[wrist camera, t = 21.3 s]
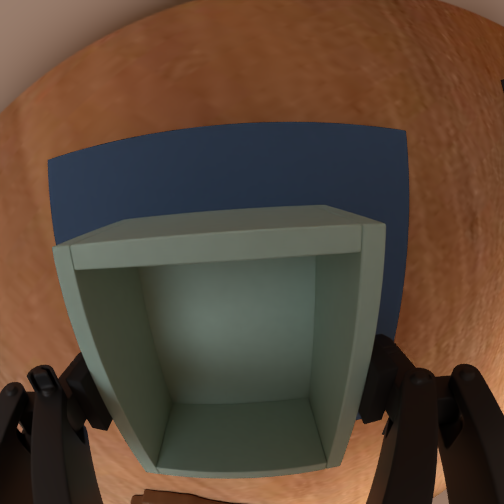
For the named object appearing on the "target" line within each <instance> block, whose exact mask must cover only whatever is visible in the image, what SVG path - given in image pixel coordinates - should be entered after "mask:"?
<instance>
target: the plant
mask: <svg viewBox="0 0 504 504" xmlns="http://www.w3.org/2000/svg"><path fill="white" fill-rule="evenodd" d="M131 504H230V503H223V502H217V501H212V500H207V499H203V498H199V497H196V496H193V495H189V494H178V493H172V492H161V491H152V490H145V491H144V495H142V496H133V497H132V500H131Z"/></svg>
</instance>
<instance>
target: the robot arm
mask: <svg viewBox="0 0 504 504" xmlns="http://www.w3.org/2000/svg"><path fill="white" fill-rule="evenodd" d="M27 378H28V380H29V381H30V383H31V385H32V387H33V389H34V391H35V392H26V390H25V389H24V387H23V385H22V384H21V383H19V382H12V383H9V384H7V385H6V386H5V387H4V388H3V390H2V391H1V393H0V504H103V501H102V498H101V495H100V491H99V487H98V483H97V479H96V475H95V471H94V466H93V462H92V457H91V451H90V446H89V440H88V433H87V430H86V427H85V426H84V423H85V421H86V419H87V420H88V421H89V423H90V425H91V426H92V428H96V429H100V430H105V431H107V430H108V428H109V426H110V424H111V421H112V419H113V418H112V417H111V415H110V413H109V411H108V409H107V407H106V405H105V403H104V401H103V399H102V397H101V395H100V393H99V391H98V389H97V387H96V385H95V383H94V380H93V378H92V376H91V374H90V371H89V369H88V367H87V365H86V362H85V360H84V357H83V355H82V352H80V353H79V354H78V355H77V356H76V357H75V359H74V360H73V361H72V362H71V363H70V365H69V366H68V367H67V368H66V370H65V371H64V372H63V373H62V375H61V376H60V377H59V379H58V378H57V376H56V374H55V372H54V370H53V368H52V367H51V366H49V365H40V366H37V367H35V368H33V369H32V370H31V371H30V372H29V373H28V375H27ZM385 410H386V412H387V414H388V416H389V418H388V421H387V423H386V426H385V428H384V430H383V433H382V434H383V435H384V439H383V444H382V448H381V453H380V457H379V461H378V465H377V469H376V472H375V476H374V480H373V483H372V486H371V490H370V493H369V496H368V499H367V502H366V504H432V499H433V493H434V485H435V476H436V465H437V449H438V448H439V453H440V457H441V461H442V466H443V471H444V476H445V482H446V487H447V493H448V500H449V504H504V415H503V413H502V411H501V409H500V407H499V405H498V403H497V401H496V400H495V398H494V396H493V394H492V392H491V390H490V389H489V387H488V385H487V383H486V382H485V380H484V378H483V376H482V375H481V373H480V371H479V370H478V369H477V368H476V367H474V366H472V365H469V364H460V365H457V366H456V367H455V368H454V369H453V372H452V374H451V376H440V377H435V376H434V374H433V373H432V372H431V371H429V370H427V369H424V368H416V367H415V366H414V365H413V364H412V363H411V361H410V360H409V359H408V358H407V357H406V356H405V354H404V353H403V352H402V351H401V350H400V349H399V347H398V346H396V344H395V343H394V342H393V340H392V339H391V338H389V337H387V336H385V335H384V334H378V335H375V339H374V345H373V350H372V355H371V360H370V365H369V369H368V374H367V378H366V383H365V387H364V391H363V395H362V399H361V402H360V406H359V410H358V412H359V414H360V416H361V418H362V421H363V423H364V424H367V423H371V422H374V421H378V420H381V419H382V417H383V414H384V411H385ZM18 423H19V424H20V425H21V427H22V428H23V431H22V433H21V432H20V431H19V430H18V429H17V426H18Z"/></svg>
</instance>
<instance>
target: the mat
mask: <svg viewBox="0 0 504 504" xmlns="http://www.w3.org/2000/svg"><path fill="white" fill-rule="evenodd" d="M48 180H49V194H50V205H51V214H52V222H53V229H54V236H55V242H56V245H58V244H61V243H63V242H66V241H68V240H71V239H73V238H76V237H78V236H81V235H83V234H86V233H89V232H91V231H94V230H96V229H99V228H102V227H105V226H107V225H110V224H113V223H116V222H119V221H122V220H124V219H133V218H142V217H151V216H161V215H171V214H182V213H193V212H205V211H217V210H231V209H246V208H263V207H282V206H306V205H327V206H330V207H334V208H337V209H341V210H344V211H347V212H351V213H354V214H357V215H360V216H363V217H367V218H370V219H373V220H376V221H379V222H382V223H385V224H386V240H385V257H384V270H383V281H382V290H381V299H380V307H379V314H378V321H377V327H376V333H375V335H378V334H384V335H385V336H387V337H389V338H391V339H392V340H393V342H394V338H395V333H396V328H397V323H398V318H399V312H400V306H401V299H402V293H403V285H404V277H405V268H406V257H407V245H408V227H409V168H408V150H407V138H406V131H405V130H398V129H391V128H383V127H374V126H364V125H353V124H339V123H319V122H260V123H240V124H225V125H214V126H204V127H195V128H187V129H179V130H172V131H166V132H160V133H154V134H148V135H142V136H137V137H132V138H127V139H123V140H118V141H114V142H109V143H105V144H101V145H97V146H93V147H89V148H86V149H82V150H78V151H75V152H71V153H68V154H65V155H62V156H58V157H55V158H52V159H49V160H48ZM358 419H362V418H361V416H360V414H359V412H358V413H357V417H356V420H358Z"/></svg>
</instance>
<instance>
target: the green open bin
mask: <svg viewBox="0 0 504 504" xmlns="http://www.w3.org/2000/svg"><path fill="white" fill-rule="evenodd" d="M385 240H386V224H385V223H382V222H379V221H376V220H373V219H370V218H367V217H363V216H360V215H357V214H354V213H351V212H347V211H344V210H341V209H337V208H334V207H330V206H327V205H306V206H282V207H263V208H246V209H231V210H217V211H205V212H193V213H182V214H171V215H161V216H151V217H142V218H133V219H124V220H122V221H119V222H116V223H113V224H110V225H107V226H105V227H102V228H99V229H96V230H94V231H91V232H89V233H86V234H83V235H81V236H78V237H76V238H73V239H71V240H68V241H66V242H63V243H61V244H58V245H56V246H54V247H52V250H53V255H54V260H55V265H56V270H57V274H58V278H59V282H60V286H61V290H62V294H63V298H64V301H65V305H66V308H67V312H68V315H69V318H70V321H71V324H72V327H73V330H74V333H75V336H76V339H77V342H78V344H79V347H80V350H81V352H82V355H83V357H84V360H85V362H86V365H87V367H88V369H89V371H90V374H91V376H92V378H93V380H94V383H95V385H96V387H97V389H98V391H99V393H100V395H101V397H102V399H103V401H104V403H105V405H106V407H107V409H108V411H109V413H110V415H111V417H112V418H113V420H114V422H115V424H116V426H117V427H118V429H119V431H120V433H121V434H122V436H123V438H124V439H125V441H126V442H127V444H128V446H129V447H130V449H131V450H132V452H133V453H134V455H135V456H136V458H137V459H138V461H139V462H140V464H141V465H142V467H143V468H144V469H145V471H146V472H150V473H156V474H165V475H173V476H183V477H196V478H227V479H229V478H260V477H273V476H283V475H291V474H299V473H305V472H312V471H317V470H323V469H325V468H332V467H337V466H340V464H341V462H342V459H343V456H344V454H345V451H346V448H347V445H348V442H349V439H350V436H351V433H352V430H353V427H354V423H355V420H356V417H357V413H358V410H359V406H360V402H361V399H362V395H363V391H364V387H365V383H366V378H367V374H368V369H369V365H370V360H371V355H372V350H373V345H374V339H375V333H376V327H377V321H378V314H379V307H380V299H381V290H382V281H383V270H384V257H385Z"/></svg>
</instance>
